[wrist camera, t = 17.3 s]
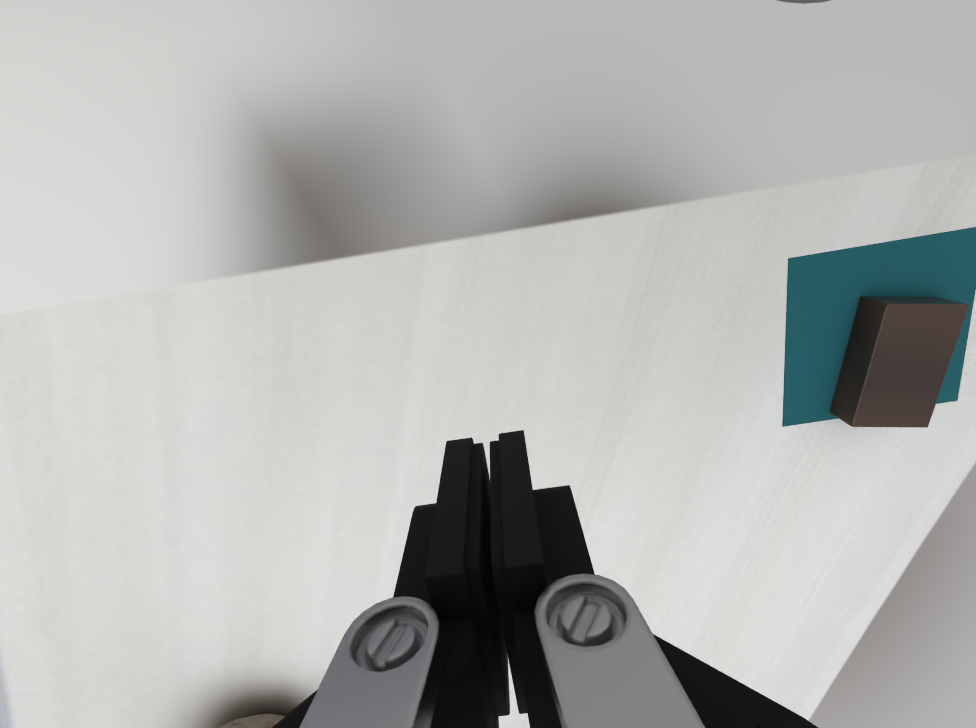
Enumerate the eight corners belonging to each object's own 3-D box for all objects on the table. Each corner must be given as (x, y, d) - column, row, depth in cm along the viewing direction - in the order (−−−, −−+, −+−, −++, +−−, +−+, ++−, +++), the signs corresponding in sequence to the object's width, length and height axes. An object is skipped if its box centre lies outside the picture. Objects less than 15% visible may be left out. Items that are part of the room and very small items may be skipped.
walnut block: (859, 295, 34) (887, 303, 32) (937, 296, 34) (970, 304, 32) (828, 412, 37) (851, 427, 35) (900, 412, 38) (928, 427, 35)
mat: (787, 258, 34) (788, 258, 34) (983, 225, 33) (986, 225, 33) (781, 425, 38) (783, 426, 38) (955, 399, 37) (957, 400, 37)
